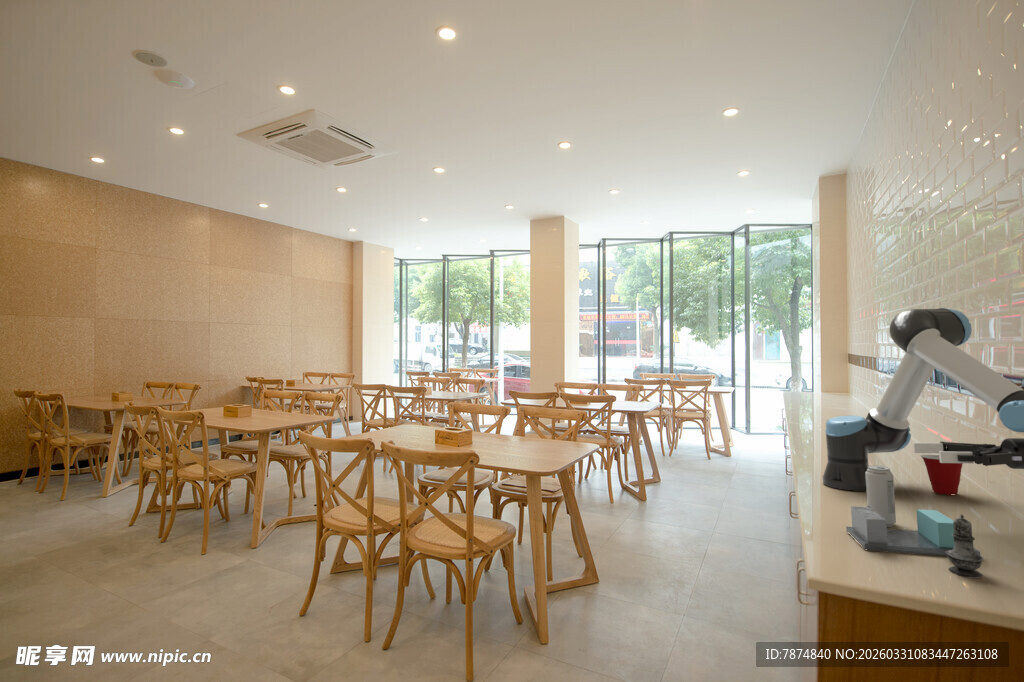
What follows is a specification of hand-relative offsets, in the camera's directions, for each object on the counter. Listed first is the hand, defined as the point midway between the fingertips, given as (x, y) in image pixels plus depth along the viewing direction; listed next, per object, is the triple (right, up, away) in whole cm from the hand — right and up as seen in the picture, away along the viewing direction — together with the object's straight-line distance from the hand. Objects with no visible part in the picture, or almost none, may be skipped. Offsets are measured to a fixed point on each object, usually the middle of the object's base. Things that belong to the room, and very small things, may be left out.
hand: (926, 452), depth 130 cm
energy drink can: (-9, -20, +3) cm, 22 cm away
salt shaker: (-14, -19, -27) cm, 36 cm away
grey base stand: (-14, -19, -11) cm, 26 cm away
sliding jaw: (-8, -18, -13) cm, 23 cm away
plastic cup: (+30, -20, +29) cm, 46 cm away
